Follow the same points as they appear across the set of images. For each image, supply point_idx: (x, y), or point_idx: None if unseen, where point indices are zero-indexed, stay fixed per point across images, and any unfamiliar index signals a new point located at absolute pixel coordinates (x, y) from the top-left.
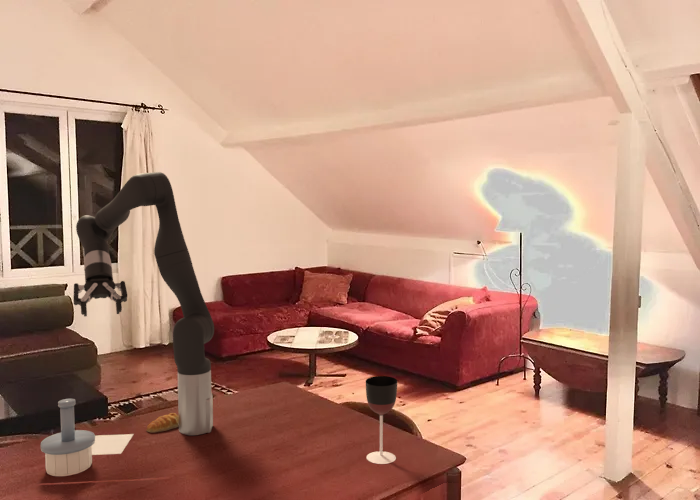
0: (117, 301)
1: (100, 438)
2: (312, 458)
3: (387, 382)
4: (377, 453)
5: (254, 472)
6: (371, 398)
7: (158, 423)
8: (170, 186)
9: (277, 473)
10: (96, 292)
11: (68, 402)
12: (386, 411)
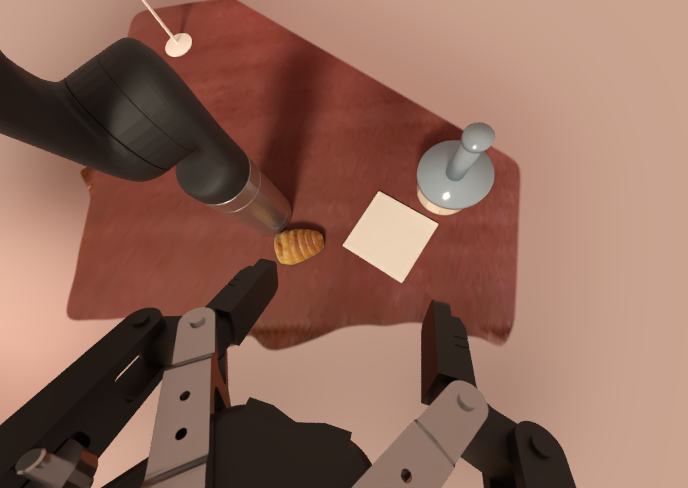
0: (231, 300)
1: (386, 258)
2: (223, 73)
3: None
4: (175, 48)
5: (283, 75)
6: None
7: (307, 233)
8: None
9: (268, 63)
10: (328, 452)
11: (477, 126)
12: None
